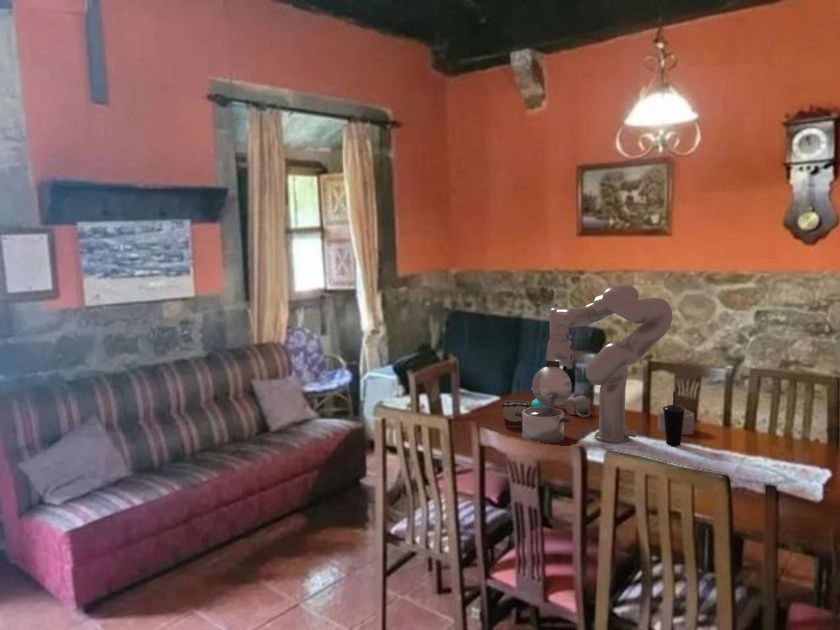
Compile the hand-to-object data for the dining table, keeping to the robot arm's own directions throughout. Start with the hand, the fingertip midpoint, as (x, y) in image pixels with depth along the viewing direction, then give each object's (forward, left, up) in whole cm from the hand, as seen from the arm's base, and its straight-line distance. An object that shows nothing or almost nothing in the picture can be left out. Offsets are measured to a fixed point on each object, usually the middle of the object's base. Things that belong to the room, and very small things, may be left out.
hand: (559, 381), depth 271 cm
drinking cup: (-46, +7, -18) cm, 50 cm away
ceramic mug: (-3, -18, -18) cm, 26 cm away
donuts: (+16, -24, -18) cm, 34 cm away
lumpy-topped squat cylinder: (-44, -12, -18) cm, 49 cm away
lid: (0, +10, +1) cm, 10 cm away
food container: (+16, +8, -18) cm, 26 cm away
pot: (0, +19, -18) cm, 26 cm away
